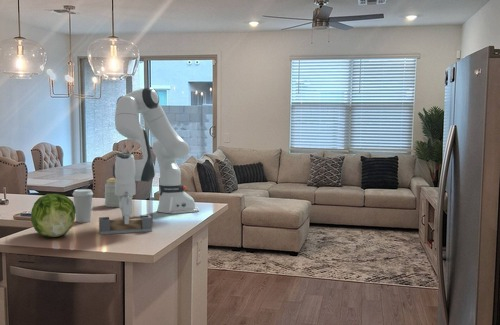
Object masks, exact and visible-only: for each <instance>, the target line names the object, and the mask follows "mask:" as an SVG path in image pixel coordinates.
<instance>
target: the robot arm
mask: <svg viewBox="0 0 500 325" xmlns="http://www.w3.org/2000/svg"><path fill="white" fill-rule="evenodd" d="M115 104H116V105H115V106H116V107H115V112H114V113H115V114H114V125H115V127H114V128H115V130H116V131H117V133H119V134H120V135H121V136H122V137H124V138H127V139H129V140H132V141H135V142H137V143H138V144H139V145H140V148H141V154H142V159H135V157H134V156H135V155H134V154H133V153H130V152H122V153H118V154H117V155H116V156H115V163H113V165H112V178H116V181H115V195H117V196H118V202H119V207H118V208H119V209H120V211H121V217H122V219H124V223H125V224H129V219H130V216H132V215H133V201H132V200H133V198H134V196H135V195H136V194H137V193H136V192H137V191H136V185H137V184H136V182H146V183H147V182H150V181H151V180H153V179H154V178H155V176H156V167H155V164H154V161H153V156H152V154H154V156H155V157H156V159H157V163H158V167H159V185H158V186H159V187H158V194H159V200H158V205H157V210H156V212H159V213H167V214H174V215H175V214H184V213H196V212H200V208H199V207H198V206H196V203H195V200H194V198H193V197H192V196H191V195H190V194H189V193H187V192H185V191H186V190H187V188H188V187H187V186H186V185H183V184H182V182H181V181H182V171H181V168H180V167H179V165H178V162H177V160H178V161H179V160H182V159H185V158H186V157H188V155H189V152H190V145H189V143H187V141H185V140H184V139H183V138H182V137H181V136H180V135H179V134H178V133H177V131H176V130H175V129H174V128H173V125H172V124H171V123H170V120H169V118H168V117H167V114H166V112H165V111H164V109H163V106H162V105H161V104H160V97H159V93H158V92H157V90H155V89H154V88H153V87H144V88H141V89H136V90H133V91H131V92H129V93H126V94H123V95H121V96H119V97H118V99H117V100H116V103H115ZM140 114H141V115H142V118H143V120H144V122H145V124H146V126H147V128H148V130H149V132H150V134H151V135H152V136H153V137H154V138H155V139H156V140H154V142H153V143H152V145H151V146H152V147H151V146H150V140H149V136H148V132H147V130H146V128H145V127H143V126H142V125H141V123H140ZM151 149H152V151H151ZM152 152H153V153H152Z"/></svg>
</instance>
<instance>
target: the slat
mask: <svg viewBox="0 0 500 325" xmlns="http://www.w3.org/2000/svg"><path fill="white" fill-rule="evenodd" d="M126 229H142V218H140V217H139V218H129V224H125V223H124V219H110V230H126Z"/></svg>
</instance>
